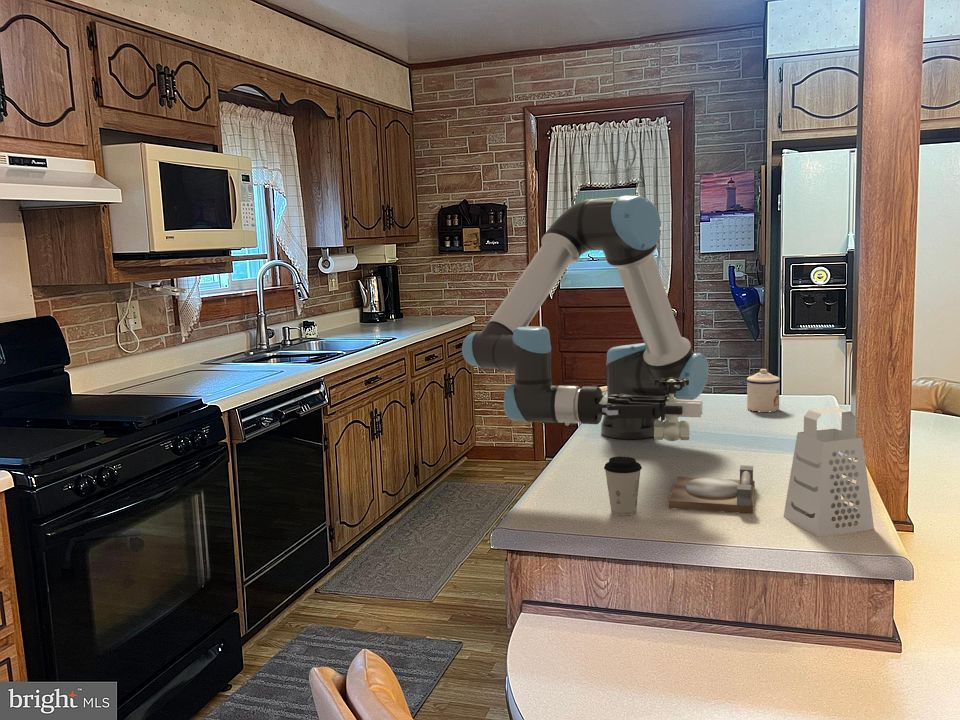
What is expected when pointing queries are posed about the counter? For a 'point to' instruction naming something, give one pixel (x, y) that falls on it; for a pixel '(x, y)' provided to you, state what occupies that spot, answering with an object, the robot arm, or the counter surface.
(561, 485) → the counter surface
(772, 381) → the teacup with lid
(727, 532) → the counter surface
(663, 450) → the counter surface
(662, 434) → the valve
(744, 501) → the shaft stand
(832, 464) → the grater
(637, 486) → the coffee cup
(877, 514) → the counter surface
